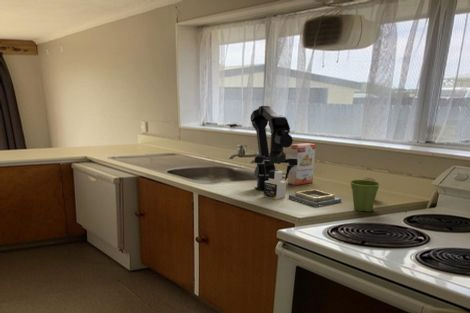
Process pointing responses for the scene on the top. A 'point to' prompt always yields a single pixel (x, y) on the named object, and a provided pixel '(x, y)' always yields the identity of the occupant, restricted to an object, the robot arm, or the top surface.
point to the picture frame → (315, 197)
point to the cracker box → (302, 163)
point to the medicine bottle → (275, 185)
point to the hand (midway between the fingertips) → (275, 179)
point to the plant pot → (364, 194)
